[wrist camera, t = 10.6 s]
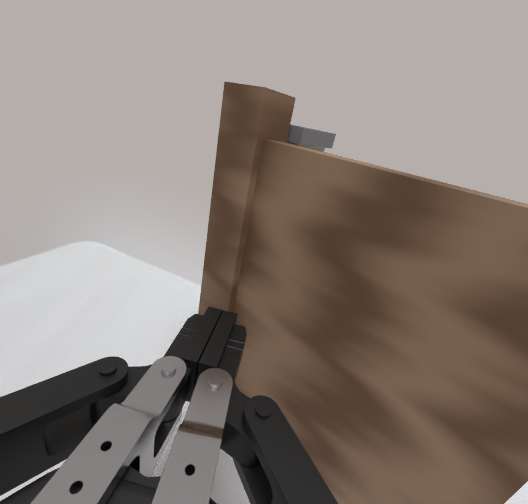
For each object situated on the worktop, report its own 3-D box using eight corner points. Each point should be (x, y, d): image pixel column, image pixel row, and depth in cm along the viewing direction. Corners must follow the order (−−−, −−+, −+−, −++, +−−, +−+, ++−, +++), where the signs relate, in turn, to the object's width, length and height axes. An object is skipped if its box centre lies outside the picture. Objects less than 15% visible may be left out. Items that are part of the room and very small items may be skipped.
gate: (435, 584, 15) (877, 189, 6) (427, 647, 13) (1060, 200, 4) (212, 381, 24) (258, 92, 15) (187, 400, 22) (223, 81, 13)
